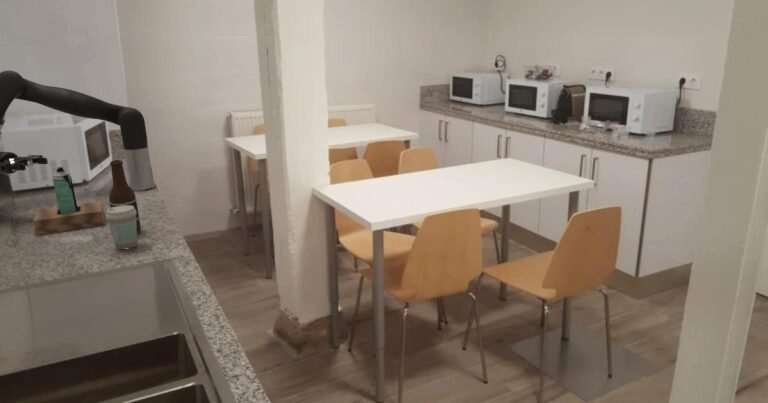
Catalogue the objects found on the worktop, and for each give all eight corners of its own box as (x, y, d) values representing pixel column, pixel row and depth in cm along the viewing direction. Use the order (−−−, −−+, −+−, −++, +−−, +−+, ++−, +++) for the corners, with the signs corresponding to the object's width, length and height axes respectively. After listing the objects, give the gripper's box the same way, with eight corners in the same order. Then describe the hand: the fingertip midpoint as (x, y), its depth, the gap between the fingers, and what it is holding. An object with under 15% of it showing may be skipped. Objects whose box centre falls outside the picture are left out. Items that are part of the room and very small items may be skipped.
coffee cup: (117, 242, 175) (111, 205, 171) (145, 240, 175) (139, 203, 172) (107, 252, 167) (99, 214, 163) (136, 250, 167) (130, 212, 164)
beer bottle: (146, 229, 185) (134, 158, 178) (129, 238, 178) (116, 164, 171) (127, 228, 187) (115, 157, 180) (109, 236, 180) (96, 162, 173)
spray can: (83, 221, 195) (72, 165, 189) (74, 226, 190) (62, 169, 184) (69, 221, 196) (57, 165, 190) (58, 226, 191) (46, 169, 185)
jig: (103, 213, 203) (101, 200, 201) (104, 225, 191) (101, 211, 189) (40, 223, 195) (37, 209, 193) (36, 235, 183) (33, 221, 181)
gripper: (-22, 156, 188) (13, 158, 183) (16, 147, 201) (51, 148, 196) (-16, 178, 190) (19, 180, 185) (22, 167, 203) (56, 169, 198)
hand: (35, 163), depth 190 cm, fingers open, 8 cm apart
